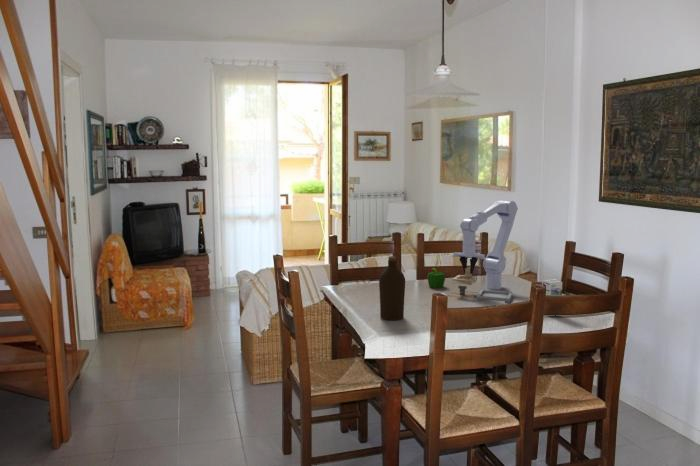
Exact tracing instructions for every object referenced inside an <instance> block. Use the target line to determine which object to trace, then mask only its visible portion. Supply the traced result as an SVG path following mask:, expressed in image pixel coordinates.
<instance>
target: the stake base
mask: <svg viewBox="0 0 700 466" xmlns="http://www.w3.org/2000/svg"><path fill="white" fill-rule="evenodd" d="M467 286H468V285H458V287H457V288H458V289H459V290H453V289H452V290H451V291H450V293H449V294H448V295H447V297H457V298H458V297H459V298H467V299H468V298H469V299H471V298H472V299H474V298H475V297H477V295H478V293H479V292H478V291H466V290H467Z"/></svg>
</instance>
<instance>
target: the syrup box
mask: <svg viewBox="0 0 700 466" xmlns="http://www.w3.org/2000/svg"><path fill="white" fill-rule="evenodd" d="M543 283H544V284H545V285H546V295H562V296H563V281H562V280H560V279H555V278H554V279H542V284H543Z"/></svg>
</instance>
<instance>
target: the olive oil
mask: <svg viewBox="0 0 700 466" xmlns="http://www.w3.org/2000/svg"><path fill="white" fill-rule="evenodd" d="M378 284H379V286H378V287H379V288H378V289H379V310H380V312H379V314H380V319H382V320H385V321H401V320H403V319H404V313H405V295H406V294H405V291H406V278H405V275H404V273H403V272H402V271H401V270H400V269H399V268H398V266H397V257H396V256H395V255H394V256H392V255H391V256H388V260H387V267H386V268H385V269H384V270H383V271H382V272H381V274H380V275H379V279H378Z"/></svg>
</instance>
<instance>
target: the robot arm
mask: <svg viewBox="0 0 700 466" xmlns="http://www.w3.org/2000/svg"><path fill="white" fill-rule="evenodd" d="M517 212H518V205H517V203H516V202H515V201H513V200H501V199H498V200H496V201H493V204H492V205H490V206H489V207H487V209H485V210H484V211H482V210H478V211H476V213H474V214H473V215H471V216H469V217H468V218H464V219H463V220H462V221H461V222H460V224H459V225H460V229H461V233H462V252H458V251H457V252H456V251H455V252H453V254H452V255H453V257H454V258H459V262H460V264H461V266H462V268H463V269H462V270H463V273H464V274H465V268H466V267H468V259H469V264H470V265H469V267H470V274H472V275H473V274H474V269H475V266H476V264H477V262H478V261H479V259H480V260H483V262H482V267H483V268H484V270H485V273H486V274H485V276H486V277H485V289H486V290H494V291H499V290H501V289H502V288H504V287H503V286H502V273H504V271H505V269H506V264H507V257H505V255H504V253H505V251H506V246H507V244H508V242H509V238H510V235H511V232H512V229H513V227H514V222H515V218H516V216H517V215H516V214H517ZM496 214H497V216H498V217H499V219H501V223H500V226H499V229H498V233H497V236H496V239H495V242H494V245H493V247H492V250H491V251H490V252H488V253H487V255H486V256H485V254H484V253H483V254H482V253H476V232H477V231H478V230H479V227H480V226H482V225H483V224H485V223H487V221H488V218H490V217H492V216H493V215H496Z"/></svg>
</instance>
